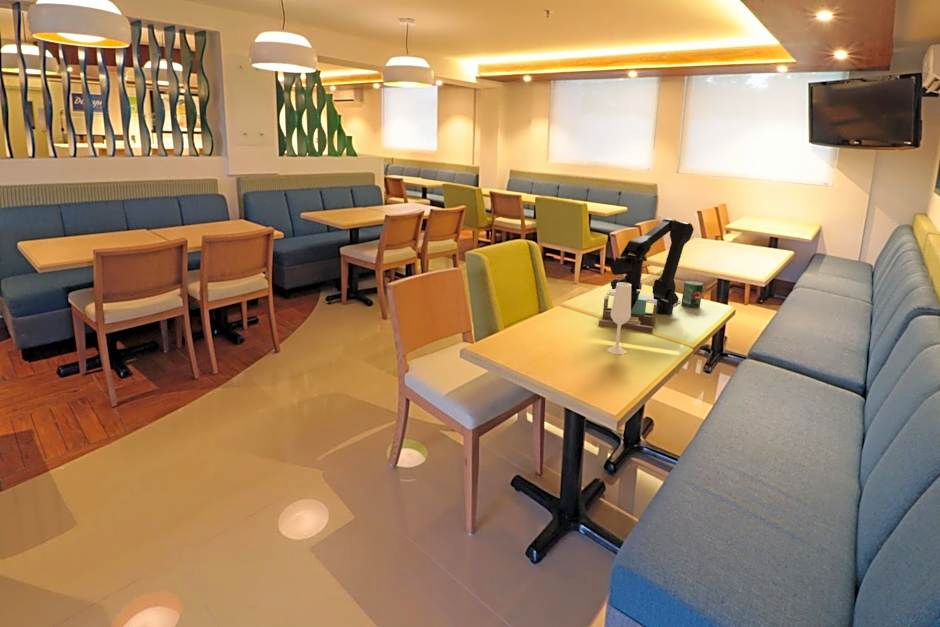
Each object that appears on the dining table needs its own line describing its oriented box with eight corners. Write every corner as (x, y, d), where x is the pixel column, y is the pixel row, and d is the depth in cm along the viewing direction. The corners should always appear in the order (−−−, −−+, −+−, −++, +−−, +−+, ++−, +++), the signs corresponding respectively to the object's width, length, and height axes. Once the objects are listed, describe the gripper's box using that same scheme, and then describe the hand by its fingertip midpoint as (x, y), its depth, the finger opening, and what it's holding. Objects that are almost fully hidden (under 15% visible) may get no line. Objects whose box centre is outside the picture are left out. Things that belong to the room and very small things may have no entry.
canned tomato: (681, 302, 247) (685, 279, 244) (700, 305, 244) (704, 281, 240) (680, 307, 240) (683, 283, 237) (699, 309, 237) (703, 285, 234)
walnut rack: (604, 315, 226) (607, 294, 223) (654, 321, 219) (657, 300, 217) (598, 328, 210) (600, 305, 207) (651, 335, 203) (654, 312, 201)
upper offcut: (616, 318, 213) (616, 315, 213) (637, 320, 211) (638, 317, 211) (616, 322, 208) (616, 319, 208) (638, 324, 207) (638, 321, 206)
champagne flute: (630, 352, 187) (638, 285, 179) (616, 355, 183) (624, 287, 176) (615, 346, 192) (623, 280, 185) (602, 349, 189) (609, 283, 181)
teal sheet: (613, 316, 221) (615, 295, 218) (644, 320, 217) (646, 299, 214) (613, 317, 219) (615, 296, 216) (643, 322, 215) (646, 300, 212)
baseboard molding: (672, 309, 239) (680, 303, 248) (673, 303, 238) (681, 297, 248) (606, 296, 257) (616, 291, 266) (607, 290, 256) (617, 285, 265)
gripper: (616, 265, 223) (612, 301, 228) (610, 275, 207) (605, 314, 211) (644, 268, 219) (639, 305, 224) (640, 278, 203) (635, 317, 208)
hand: (629, 310), depth 217 cm, fingers open, 4 cm apart
